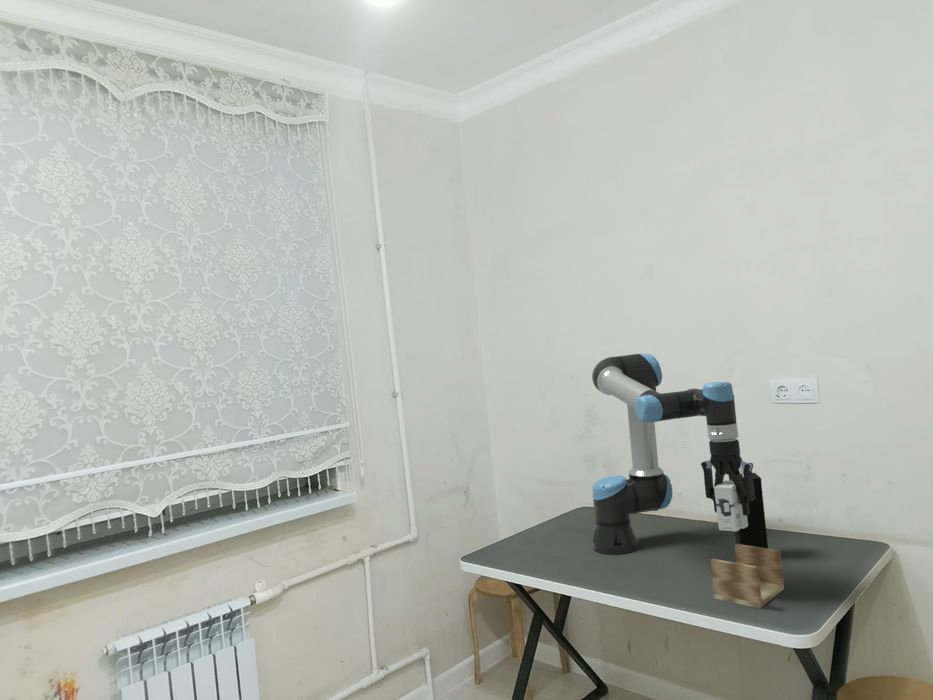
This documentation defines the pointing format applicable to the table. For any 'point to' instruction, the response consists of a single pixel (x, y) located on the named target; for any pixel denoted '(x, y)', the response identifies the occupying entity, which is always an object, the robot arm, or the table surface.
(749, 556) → the holder
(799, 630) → the table surface
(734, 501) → the ink box
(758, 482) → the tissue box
